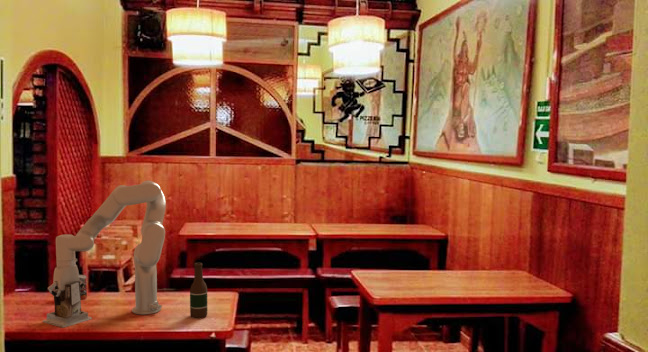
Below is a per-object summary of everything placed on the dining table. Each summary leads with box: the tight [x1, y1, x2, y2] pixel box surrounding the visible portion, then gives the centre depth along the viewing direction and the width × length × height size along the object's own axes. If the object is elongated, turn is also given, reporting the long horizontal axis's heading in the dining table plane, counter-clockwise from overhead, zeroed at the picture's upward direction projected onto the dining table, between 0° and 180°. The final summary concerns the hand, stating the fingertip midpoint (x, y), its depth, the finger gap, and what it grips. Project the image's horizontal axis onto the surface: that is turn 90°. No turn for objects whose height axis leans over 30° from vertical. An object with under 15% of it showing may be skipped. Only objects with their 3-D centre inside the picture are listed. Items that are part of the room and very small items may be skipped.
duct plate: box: [42, 310, 93, 329], centre depth 253 cm, size 14×14×3 cm
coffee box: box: [53, 281, 82, 318], centre depth 253 cm, size 9×6×16 cm
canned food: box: [79, 274, 88, 301], centre depth 287 cm, size 8×8×11 cm
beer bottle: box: [189, 262, 208, 319], centre depth 259 cm, size 8×8×24 cm
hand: (67, 302), depth 253 cm, fingers open, 9 cm apart
